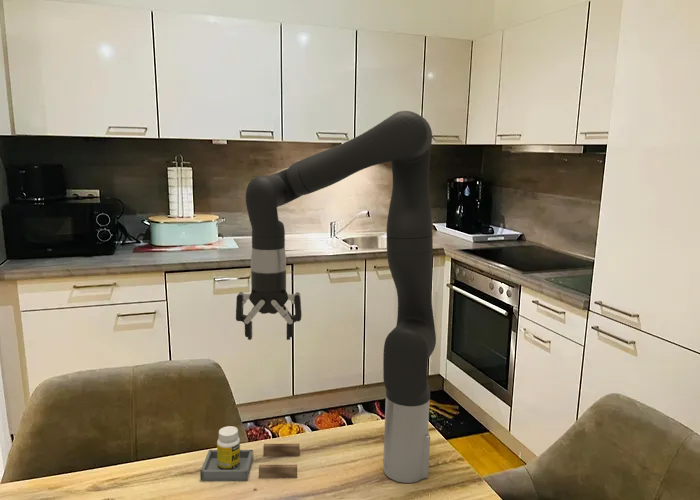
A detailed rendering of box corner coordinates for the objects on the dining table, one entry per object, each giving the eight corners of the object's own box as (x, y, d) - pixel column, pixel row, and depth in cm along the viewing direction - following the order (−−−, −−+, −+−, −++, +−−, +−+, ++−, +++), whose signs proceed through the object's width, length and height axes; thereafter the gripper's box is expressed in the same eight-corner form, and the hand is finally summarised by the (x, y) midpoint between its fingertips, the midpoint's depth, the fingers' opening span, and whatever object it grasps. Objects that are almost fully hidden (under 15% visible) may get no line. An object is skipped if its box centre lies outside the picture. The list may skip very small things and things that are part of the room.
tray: (253, 458, 116) (252, 449, 116) (247, 481, 108) (247, 471, 108) (209, 458, 116) (209, 449, 115) (200, 481, 108) (200, 471, 107)
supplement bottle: (234, 475, 109) (233, 438, 107) (213, 471, 110) (212, 435, 108) (243, 462, 114) (243, 426, 112) (223, 458, 115) (222, 423, 113)
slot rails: (299, 453, 118) (299, 443, 118) (297, 478, 109) (297, 467, 109) (264, 453, 118) (263, 443, 117) (258, 478, 109) (258, 467, 109)
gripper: (302, 264, 118) (302, 333, 121) (238, 263, 117) (239, 332, 120) (300, 272, 110) (300, 345, 113) (232, 271, 110) (234, 344, 113)
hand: (269, 338), depth 117 cm, fingers open, 8 cm apart
